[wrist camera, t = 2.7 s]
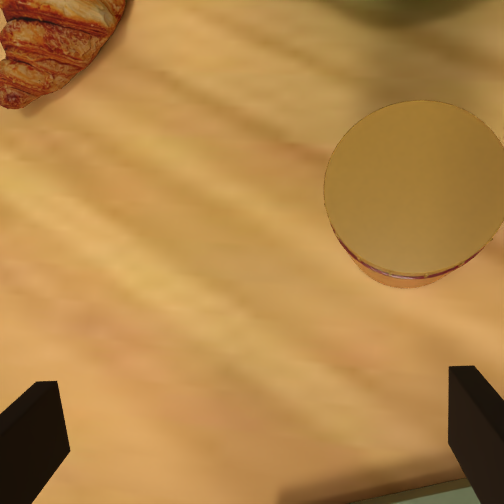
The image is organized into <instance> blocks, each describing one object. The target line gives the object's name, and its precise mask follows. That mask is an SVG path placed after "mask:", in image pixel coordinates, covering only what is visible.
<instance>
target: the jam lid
mask: <svg viewBox="0 0 504 504" xmlns="http://www.w3.org/2000/svg"><path fill="white" fill-rule="evenodd" d="M324 201H325V203H324V205H325V207H326V211H327V214H328V218H329V220H330V222H331V224H332V227H333V228H334V230H335V232H336V233H335V235H336V237H337V238H338V239H339V238H340V239H341V241H342V242H343V243H344V245H345V246H346V247H347V248H348V249H349V250H350V251H351V252H352V253H353V254H354V255H355V256H356V257H357V259H358V260H359V261H360V262H361V261H363V262H364V263H366V264H368V265H369V266H371V267H373V268H375V269H378V270H380V271H383V272H386V273H389V275H390V276H391V275H392V274H394V275H400V276H424V278H425V277H427V276H429V275H432V274H436V273H440V272H443V271H446V270H448V269H451V268H453V267H455V266H457V265H458V266H461V265H463V264H464V261H466V260H467V259H469V258H470V257H472V256H473V255H474V254H476V253H477V252H478V251H480V250H481V249H482V248H483V247H484V246H485V245H486V244H487V243H489V242H490V241H492V240H493V236H494V235H495V234H496V232H497V231H498V229H499V228H500V226H501V224H502V223H503V221H504V148H503V146H502V144H501V142H500V140H499V139H498V138H497V136H496V135H495V134H494V132H493V131H492V130H491V129H490V128H489V127H488V126H487V125H486V124H485V123H484V122H483V121H481V120H480V119H478V118H477V117H476V116H474V115H473V114H471V113H469V112H467V111H466V110H464V109H461V108H459V107H456V106H454V105H451V104H447V103H443V102H438V101H430V100H414V101H405V102H400V103H396V104H392V105H389V106H386V107H384V108H381V109H379V110H377V111H375V112H373V113H371V114H369V115H368V116H366V117H365V118H363V119H361V120H360V121H359V122H358V123H357V124H355V125H354V126H353V127H352V128H351V129H350V130H349V131H348V132H347V133H346V134H345V135H344V136H343V138H342V139H341V140H340V142H339V143H338V144H337V146H336V148H335V150H334V152H333V153H332V155H331V158H330V160H329V163H328V166H327V170H326V173H325V180H324Z"/></svg>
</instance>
